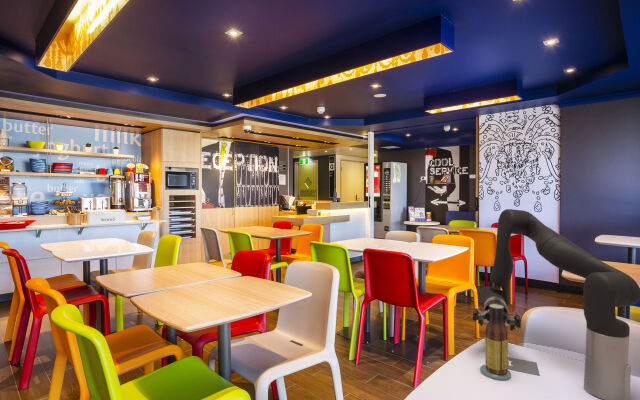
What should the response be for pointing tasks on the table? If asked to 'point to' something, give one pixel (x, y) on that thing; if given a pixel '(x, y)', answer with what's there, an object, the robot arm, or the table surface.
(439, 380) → the table surface
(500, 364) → the sauce bottle
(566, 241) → the robot arm
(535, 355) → the table surface
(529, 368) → the grey card
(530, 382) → the table surface
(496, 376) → the sage green round disc
